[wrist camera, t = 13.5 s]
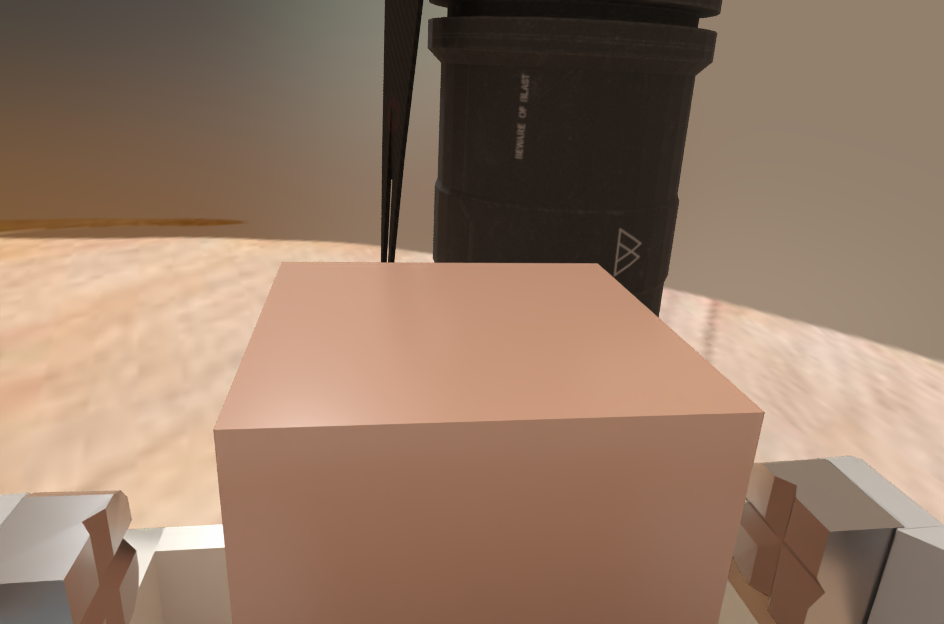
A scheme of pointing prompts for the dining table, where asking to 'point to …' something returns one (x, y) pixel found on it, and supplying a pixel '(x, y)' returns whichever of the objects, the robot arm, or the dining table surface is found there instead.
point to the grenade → (551, 129)
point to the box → (206, 581)
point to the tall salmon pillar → (476, 452)
